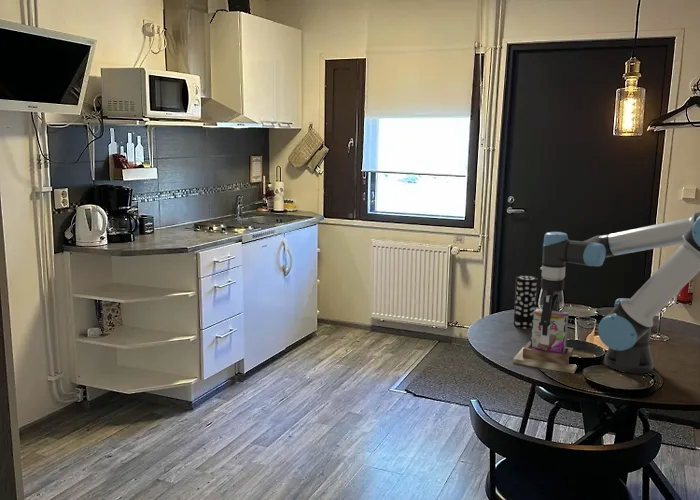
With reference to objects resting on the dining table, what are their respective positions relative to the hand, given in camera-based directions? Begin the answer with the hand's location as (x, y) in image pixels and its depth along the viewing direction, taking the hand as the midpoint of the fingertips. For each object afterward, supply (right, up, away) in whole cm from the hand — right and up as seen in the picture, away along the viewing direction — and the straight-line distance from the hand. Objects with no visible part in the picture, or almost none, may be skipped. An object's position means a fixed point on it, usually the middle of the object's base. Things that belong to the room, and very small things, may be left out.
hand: (548, 338), depth 221 cm
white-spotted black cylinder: (+3, -1, +42) cm, 42 cm away
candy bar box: (0, -7, +1) cm, 7 cm away
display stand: (0, -8, +2) cm, 8 cm away
